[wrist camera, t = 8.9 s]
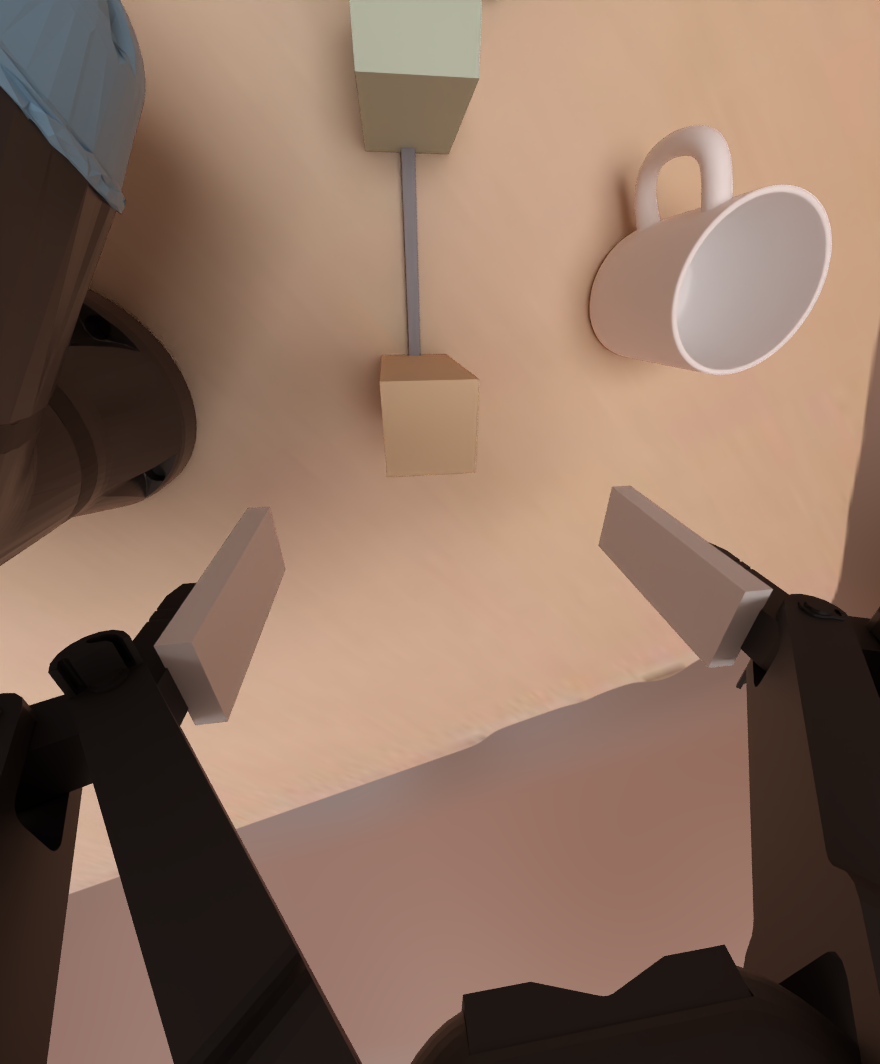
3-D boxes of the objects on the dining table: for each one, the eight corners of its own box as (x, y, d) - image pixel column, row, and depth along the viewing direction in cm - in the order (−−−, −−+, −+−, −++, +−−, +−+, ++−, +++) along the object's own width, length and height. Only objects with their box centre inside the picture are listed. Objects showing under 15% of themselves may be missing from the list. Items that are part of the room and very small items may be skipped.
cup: (599, 375, 31) (682, 401, 23) (557, 200, 25) (648, 143, 17) (700, 324, 30) (827, 330, 22) (680, 129, 24) (846, 29, 16)
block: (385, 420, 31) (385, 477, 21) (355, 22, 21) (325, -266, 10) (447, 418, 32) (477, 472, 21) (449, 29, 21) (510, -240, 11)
